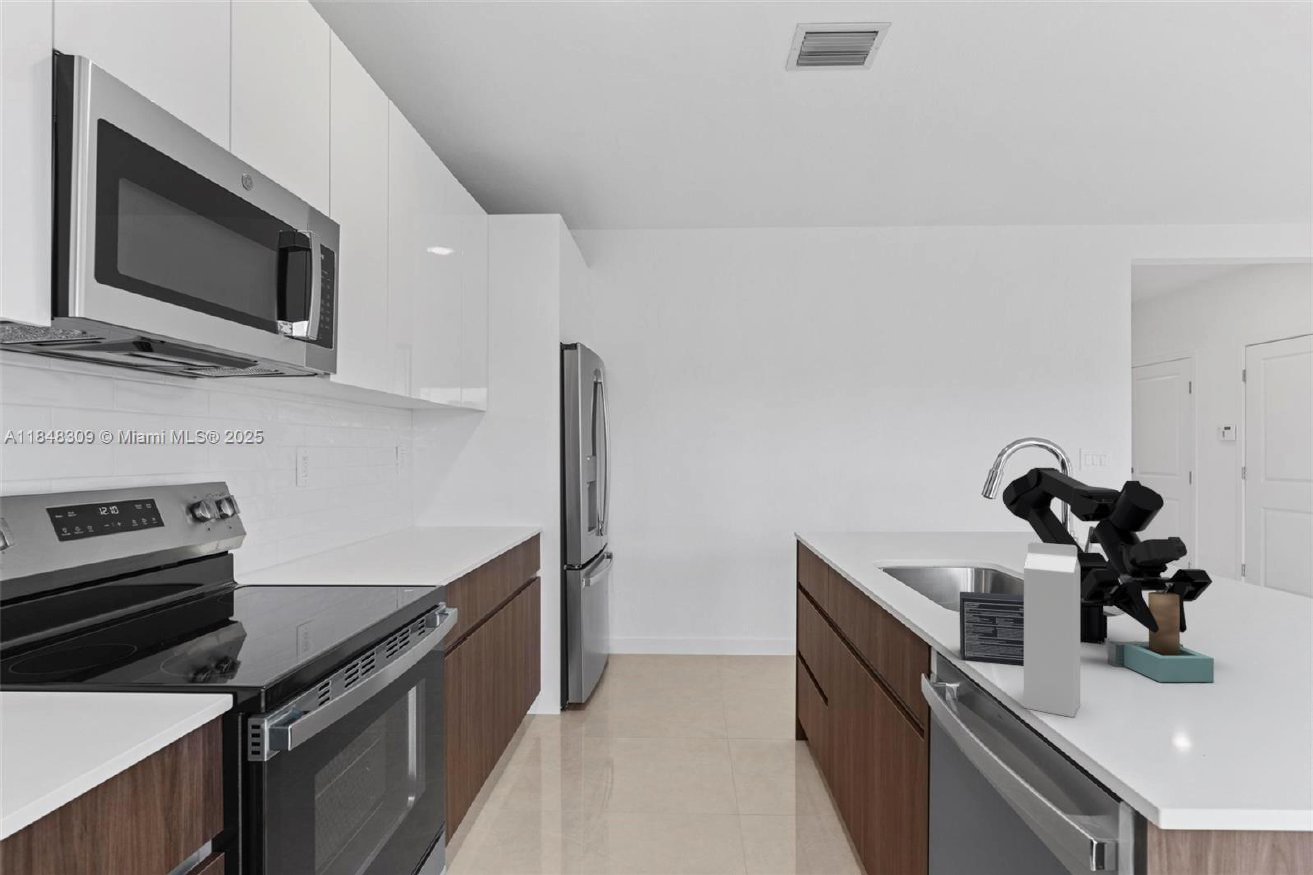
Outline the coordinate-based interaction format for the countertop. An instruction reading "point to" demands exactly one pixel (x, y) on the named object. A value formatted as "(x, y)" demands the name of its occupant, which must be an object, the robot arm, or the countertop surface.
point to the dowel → (1165, 623)
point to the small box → (992, 627)
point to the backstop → (1119, 652)
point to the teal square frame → (1169, 664)
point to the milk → (1052, 629)
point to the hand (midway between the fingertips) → (1170, 631)
